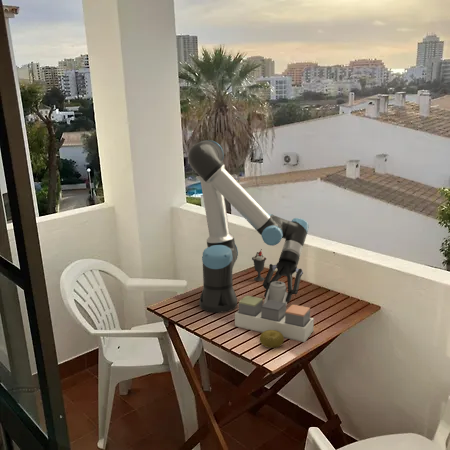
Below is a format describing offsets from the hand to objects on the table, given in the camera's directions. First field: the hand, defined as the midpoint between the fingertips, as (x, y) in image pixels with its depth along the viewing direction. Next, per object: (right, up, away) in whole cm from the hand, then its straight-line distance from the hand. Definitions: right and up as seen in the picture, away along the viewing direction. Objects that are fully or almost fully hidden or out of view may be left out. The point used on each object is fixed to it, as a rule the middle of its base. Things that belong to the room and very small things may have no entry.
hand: (273, 307), depth 175 cm
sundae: (-3, +6, +40) cm, 40 cm away
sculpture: (-3, -9, -20) cm, 22 cm away
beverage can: (+2, -3, +4) cm, 5 cm away
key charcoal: (-1, -3, -10) cm, 10 cm away
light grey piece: (-1, -6, -9) cm, 11 cm away
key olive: (-9, -2, -5) cm, 11 cm away
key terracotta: (+7, -4, -14) cm, 16 cm away
